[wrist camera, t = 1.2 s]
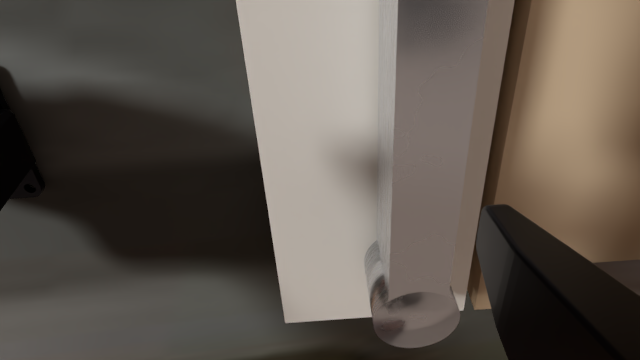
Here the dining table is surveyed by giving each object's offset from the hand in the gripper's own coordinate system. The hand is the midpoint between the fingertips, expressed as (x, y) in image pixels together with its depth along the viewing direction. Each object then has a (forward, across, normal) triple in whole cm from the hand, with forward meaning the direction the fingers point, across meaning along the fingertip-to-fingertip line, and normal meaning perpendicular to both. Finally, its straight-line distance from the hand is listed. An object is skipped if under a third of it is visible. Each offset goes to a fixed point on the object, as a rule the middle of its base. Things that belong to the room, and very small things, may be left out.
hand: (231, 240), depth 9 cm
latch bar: (+7, -5, +3) cm, 9 cm away
